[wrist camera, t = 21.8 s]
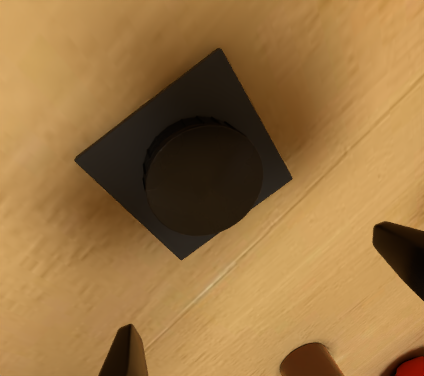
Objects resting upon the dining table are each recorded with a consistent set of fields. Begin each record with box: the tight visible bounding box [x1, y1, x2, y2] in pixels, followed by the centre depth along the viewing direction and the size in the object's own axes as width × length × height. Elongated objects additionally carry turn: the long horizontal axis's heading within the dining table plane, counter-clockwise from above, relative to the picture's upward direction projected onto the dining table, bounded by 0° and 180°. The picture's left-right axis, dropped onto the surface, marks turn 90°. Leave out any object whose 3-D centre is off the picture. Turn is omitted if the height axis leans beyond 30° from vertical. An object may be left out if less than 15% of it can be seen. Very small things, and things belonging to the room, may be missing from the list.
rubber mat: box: [75, 48, 293, 260], centre depth 18 cm, size 10×10×1 cm
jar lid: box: [142, 115, 263, 236], centre depth 16 cm, size 7×7×2 cm
